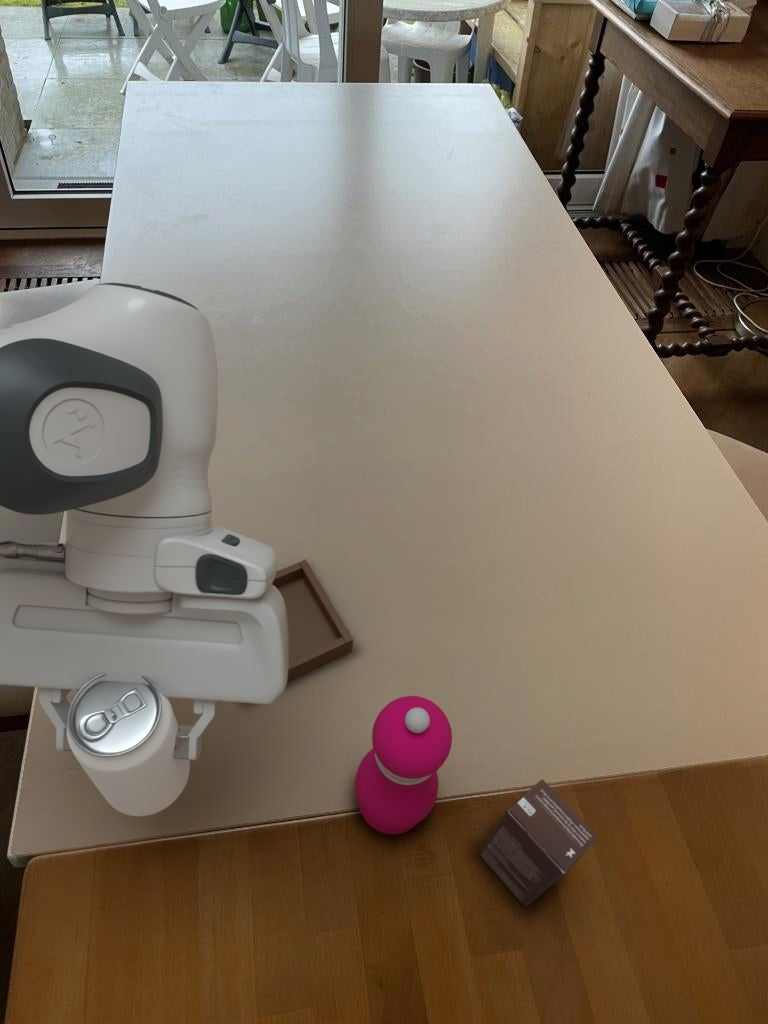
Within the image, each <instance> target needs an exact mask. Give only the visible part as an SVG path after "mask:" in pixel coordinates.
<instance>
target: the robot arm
mask: <svg viewBox="0 0 768 1024" xmlns="http://www.w3.org/2000/svg"><path fill="white" fill-rule="evenodd" d="M215 345H216V344H215V339H214V334H213V330H212V327H211V323H210V321H209V319H208V318H207V316H206V315H205V314H204V313H203V312H202V311H200V310H199V309H198V308H197V307H196V306H195V305H194V304H192V303H190V302H188V301H186V300H185V299H182V298H180V297H178V296H175V295H174V294H170V293H168V292H165V291H161V290H158V289H155V290H154V289H150V288H146V287H143V286H141V285H136V284H130V283H123V282H104V283H97V284H93V285H91V286H90V287H88V288H87V290H86V291H85V293H84V294H83V295H82V296H81V297H80V298H78V299H76V300H75V301H73V302H70V303H69V304H67V305H66V306H63V307H62V308H59V309H57V310H55V311H52V312H50V313H47V314H45V315H42V316H39V317H36V318H33V319H30V320H25V321H23V322H22V321H21V322H19V323H14V324H9V325H8V327H6V328H4V329H1V328H0V512H1V513H4V514H10V515H15V516H42V515H44V516H45V515H52V514H57V513H63V512H66V525H65V543H63V542H59V543H58V542H47V541H45V542H43V541H41V542H40V541H39V542H30V541H29V542H28V541H23V540H20V539H14V538H13V539H12V538H11V539H0V685H2V686H15V687H29V688H38V703H39V705H40V706H41V708H42V709H43V711H44V713H45V714H46V717H48V719H49V721H50V723H51V724H52V726H53V728H55V750H56V751H62V752H72V750H71V748H70V745H69V742H68V738H67V716H68V710H69V707H70V704H71V703H70V702H69V700H68V698H67V696H68V695H69V694H70V693H71V691H79V690H80V688H81V687H82V686H83V685H84V684H86V683H87V682H88V681H89V680H91V679H92V678H94V677H96V676H98V675H100V674H102V673H107V674H106V675H105V676H104V677H102V678H101V679H100V680H99V681H122V682H135V683H144V684H147V685H149V683H148V682H147V681H146V680H145V679H143V678H142V677H141V676H146V677H147V678H148V679H150V680H151V681H152V682H153V683H154V685H155V686H156V688H157V689H158V691H159V693H160V694H161V695H162V696H164V697H168V698H174V699H185V700H186V699H189V700H193V713H194V714H195V715H198V716H197V718H196V720H195V721H194V722H193V724H181V725H180V726H179V731H178V732H177V734H176V738H175V747H176V749H175V751H174V758H175V759H186V760H190V761H197V760H198V758H199V755H200V753H201V750H202V740H203V739H202V737H203V732H204V731H205V730H206V728H207V727H208V725H209V724H210V723H211V721H212V720H213V718H214V717H215V715H216V713H217V712H218V709H219V706H220V704H221V702H224V703H225V702H227V703H239V704H253V705H265V706H269V705H272V704H274V703H275V702H276V701H277V700H278V699H279V698H280V697H281V696H282V695H283V694H284V693H285V691H286V688H287V684H288V681H287V679H288V669H289V634H288V621H287V613H286V607H285V603H284V600H283V597H282V595H281V593H280V592H279V590H278V589H277V588H276V587H275V586H274V585H272V583H273V581H274V578H275V575H276V572H277V571H278V555H277V552H276V550H275V549H274V548H273V547H271V546H269V545H268V544H265V543H263V542H260V541H258V540H255V539H253V538H251V537H248V536H246V535H243V534H240V533H238V532H235V531H233V530H230V529H228V528H225V527H223V526H221V525H218V524H216V523H215V522H212V512H213V500H212V496H211V492H210V487H209V480H208V479H209V478H208V475H209V472H208V471H209V466H210V461H211V457H212V454H213V451H214V449H215V448H216V447H215V446H216V443H217V442H216V441H217V429H218V426H217V425H218V408H219V407H218V404H219V383H218V382H219V378H218V377H219V376H218V375H219V374H218V360H217V351H216V346H215Z"/></svg>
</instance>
